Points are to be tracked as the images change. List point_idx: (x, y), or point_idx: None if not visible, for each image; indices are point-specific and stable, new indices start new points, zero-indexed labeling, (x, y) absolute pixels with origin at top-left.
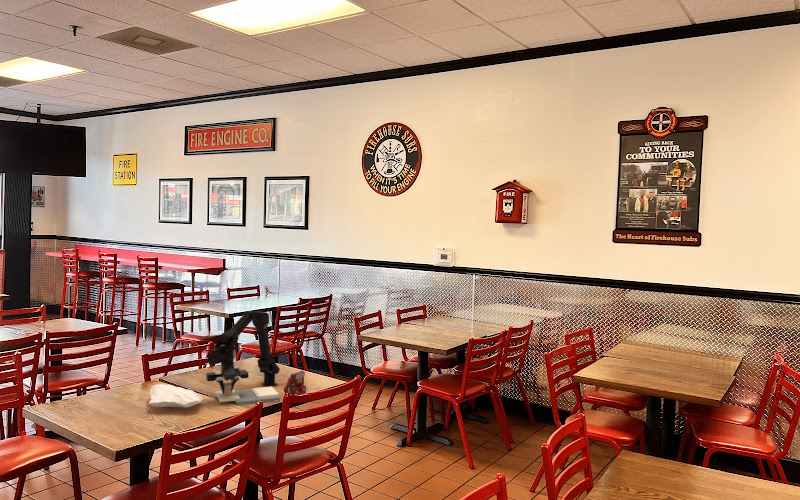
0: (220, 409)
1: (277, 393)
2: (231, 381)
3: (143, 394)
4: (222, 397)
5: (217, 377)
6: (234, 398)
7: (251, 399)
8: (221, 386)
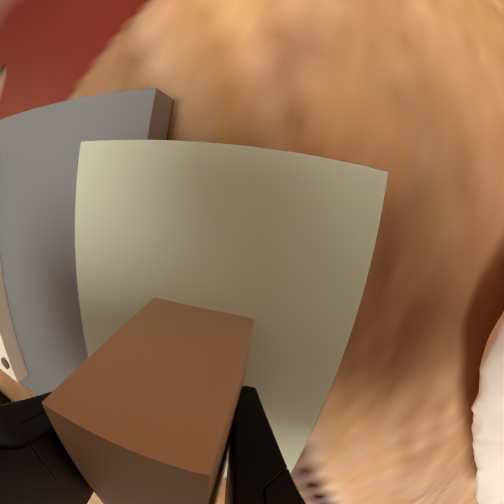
0: (384, 46)
1: None
2: (51, 492)
3: None
4: (309, 274)
5: None
6: (146, 141)
7: (26, 146)
8: (287, 490)
